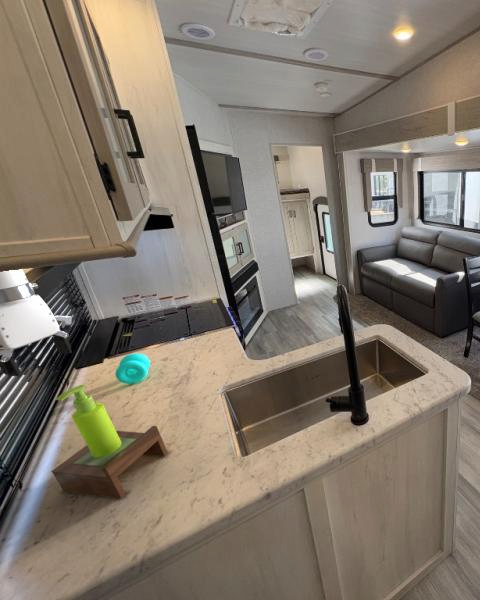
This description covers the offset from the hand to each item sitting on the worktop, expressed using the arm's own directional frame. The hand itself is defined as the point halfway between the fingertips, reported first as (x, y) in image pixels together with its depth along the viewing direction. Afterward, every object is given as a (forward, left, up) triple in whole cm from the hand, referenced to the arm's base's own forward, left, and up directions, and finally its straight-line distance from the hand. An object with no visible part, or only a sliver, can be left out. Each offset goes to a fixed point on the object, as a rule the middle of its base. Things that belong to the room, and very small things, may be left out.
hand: (41, 363), depth 72 cm
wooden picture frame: (+4, +2, -36) cm, 36 cm away
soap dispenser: (+3, +2, -29) cm, 29 cm away
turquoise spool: (-35, +43, -36) cm, 66 cm away
